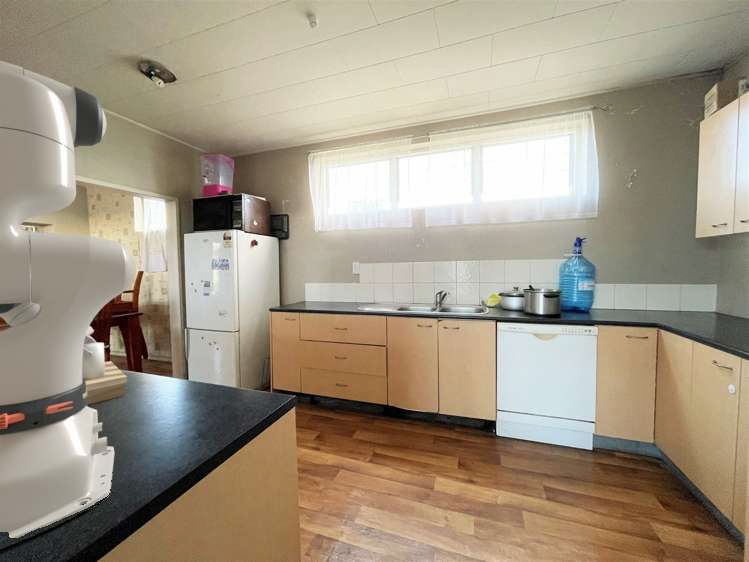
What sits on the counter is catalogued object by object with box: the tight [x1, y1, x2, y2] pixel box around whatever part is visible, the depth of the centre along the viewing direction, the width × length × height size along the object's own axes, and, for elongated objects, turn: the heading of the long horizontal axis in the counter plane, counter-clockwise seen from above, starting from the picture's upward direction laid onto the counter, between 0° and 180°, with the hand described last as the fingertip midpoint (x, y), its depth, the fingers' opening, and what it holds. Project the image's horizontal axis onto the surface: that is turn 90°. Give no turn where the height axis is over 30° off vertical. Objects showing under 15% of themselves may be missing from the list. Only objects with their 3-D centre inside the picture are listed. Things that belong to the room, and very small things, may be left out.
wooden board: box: [84, 360, 128, 406], centre depth 82 cm, size 22×14×5 cm, turn 50°
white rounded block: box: [82, 342, 106, 380], centre depth 80 cm, size 5×5×8 cm
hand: (94, 352), depth 81 cm, fingers open, 6 cm apart
